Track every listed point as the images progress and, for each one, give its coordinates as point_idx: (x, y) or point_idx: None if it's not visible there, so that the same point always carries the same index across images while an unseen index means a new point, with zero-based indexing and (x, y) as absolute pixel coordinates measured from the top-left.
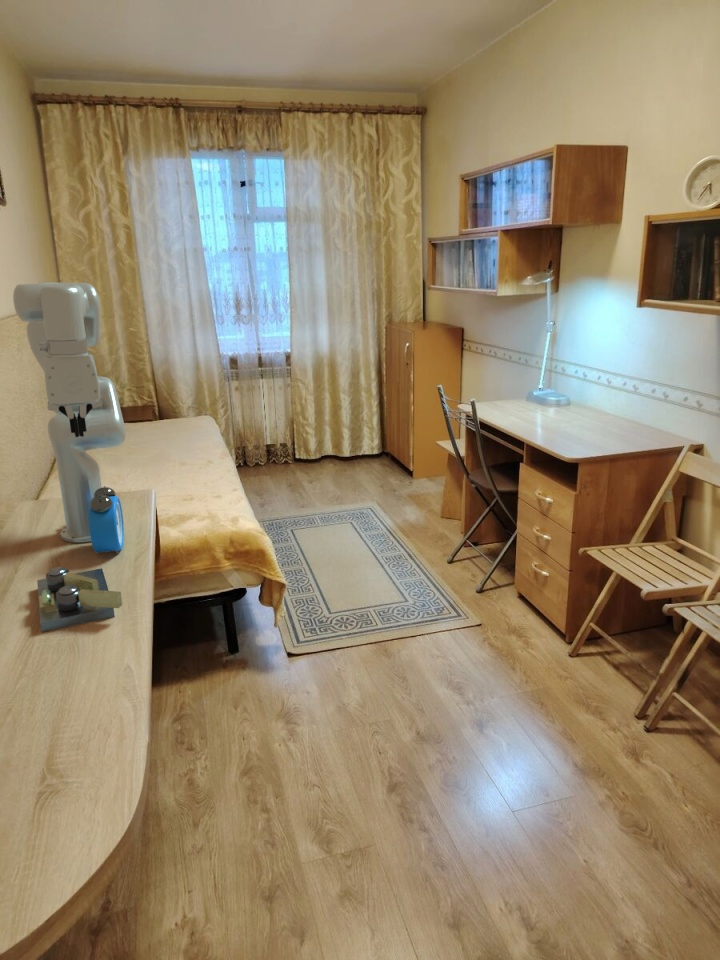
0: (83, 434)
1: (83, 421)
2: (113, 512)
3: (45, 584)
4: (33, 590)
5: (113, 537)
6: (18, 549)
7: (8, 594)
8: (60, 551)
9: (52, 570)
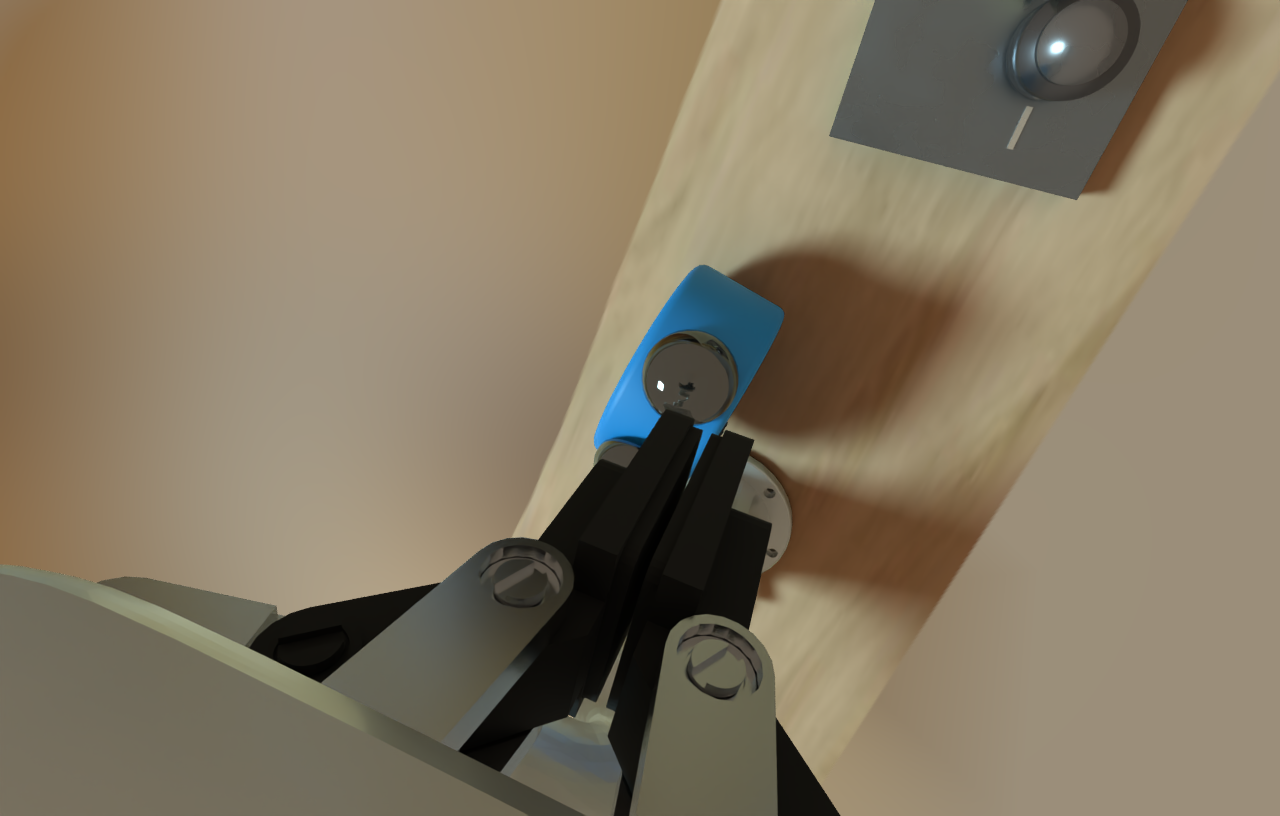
0: (663, 415)
1: (572, 532)
2: (666, 318)
3: (1079, 129)
4: (1089, 193)
5: (711, 270)
6: (930, 557)
7: (1180, 224)
8: (838, 449)
9: (1097, 58)
